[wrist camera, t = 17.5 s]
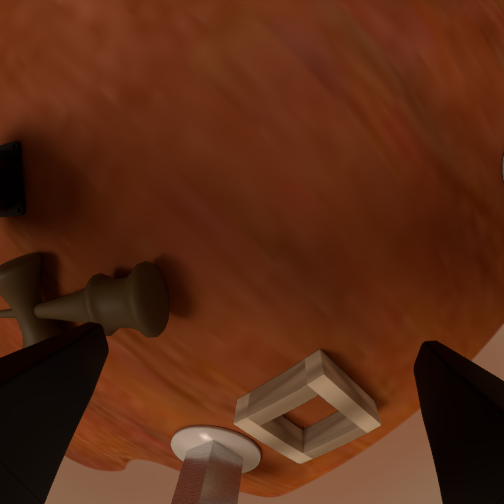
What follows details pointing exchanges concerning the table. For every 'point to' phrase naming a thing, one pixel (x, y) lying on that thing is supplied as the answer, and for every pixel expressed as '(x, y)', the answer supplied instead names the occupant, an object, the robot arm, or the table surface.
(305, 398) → the collar
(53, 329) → the kendama
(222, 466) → the steel peg
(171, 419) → the table surface
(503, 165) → the supplement bottle
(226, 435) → the coaster
